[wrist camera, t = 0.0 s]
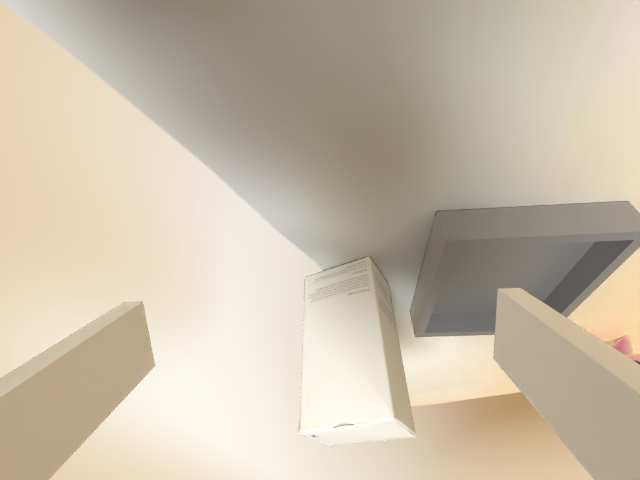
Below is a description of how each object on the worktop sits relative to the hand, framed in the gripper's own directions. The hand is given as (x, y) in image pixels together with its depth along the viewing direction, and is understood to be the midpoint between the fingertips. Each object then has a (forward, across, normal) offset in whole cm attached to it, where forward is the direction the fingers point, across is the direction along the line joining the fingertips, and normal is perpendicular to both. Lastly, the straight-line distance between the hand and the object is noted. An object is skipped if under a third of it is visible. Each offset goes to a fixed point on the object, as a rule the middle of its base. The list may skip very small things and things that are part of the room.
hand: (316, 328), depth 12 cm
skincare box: (+24, +2, -6) cm, 25 cm away
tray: (+23, +18, -6) cm, 30 cm away
